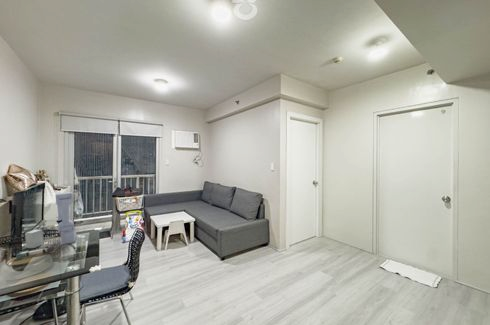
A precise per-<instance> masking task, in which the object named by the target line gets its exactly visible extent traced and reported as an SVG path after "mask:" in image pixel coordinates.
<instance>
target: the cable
mask: <svg viewBox="0 0 490 325" xmlns="http://www.w3.org/2000/svg"><path fill="white" fill-rule="evenodd" d="M52 246H53V247H51V246H48V247H49V248H46V249H45V252H51V251H53V250H54V246H55V245H52ZM39 249H40V248H39ZM34 250H35V249H34ZM25 251H26V252H22V253H25V256H26V253H27V252H28V251H29V250H28V251H27V250H25ZM22 253H20V254H22ZM40 253H43V249H40V250H35V251H30V252H29V256H30V255H35V254H40Z"/></svg>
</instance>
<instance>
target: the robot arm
mask: <svg viewBox="0 0 490 325" xmlns="http://www.w3.org/2000/svg"><path fill="white" fill-rule="evenodd" d="M73 196H74V194H73V193H72V192H71V191H70V192H65V193H64V192H63V193H56V194H55V204H56V206H57V216H56V219H57V220H56V223H57V231H58V232H57V233H58V234H60V239H61V242H60V244H59V245H62V244H63V245H66V243H67V244H72V243H75V242H76V241H77V240H78V238H77V231H76V230H75V224H74V220H71V219H70V205H72V204H73V202H74V201H73V200H74V198H73Z"/></svg>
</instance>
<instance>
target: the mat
mask: <svg viewBox="0 0 490 325" xmlns="http://www.w3.org/2000/svg"><path fill="white" fill-rule="evenodd" d="M63 245H64V244H61V245H60V244H59V245H52V246H47V247H48V248H49V247H53V246H54V248H58V249H59V248H61V247H62V246H63ZM40 249H45V247H39V248H37V249H36V248H34V249H31V250H32V251H35V250H40Z"/></svg>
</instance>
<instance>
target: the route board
mask: <svg viewBox="0 0 490 325" xmlns="http://www.w3.org/2000/svg"><path fill="white" fill-rule="evenodd" d="M48 247H49V246H46V247H44V248H45V249H46V248H48ZM45 249H43V253H40V254H35V255H30V256H29V252H30V251H32V250H33V249H29V250H22V251H21V250H20V252H18V253H17V254H15V259H14V260H13V261H21V260H25V259H29V258H30V259H31V258H36V257H39V256H44V255H52V254H54V253H55V252H56V251H57V250H58V249H59V248H54V250H53V251H51V252H45ZM26 251H28V252H27V253H26V256H25V253H22V252H26ZM20 253H22V254H20Z"/></svg>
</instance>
